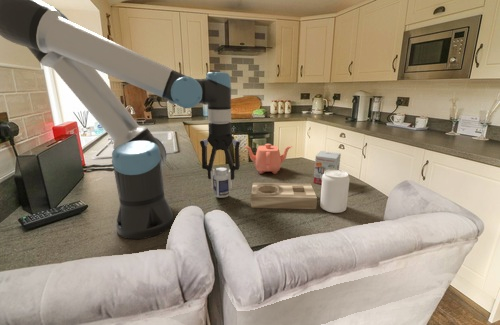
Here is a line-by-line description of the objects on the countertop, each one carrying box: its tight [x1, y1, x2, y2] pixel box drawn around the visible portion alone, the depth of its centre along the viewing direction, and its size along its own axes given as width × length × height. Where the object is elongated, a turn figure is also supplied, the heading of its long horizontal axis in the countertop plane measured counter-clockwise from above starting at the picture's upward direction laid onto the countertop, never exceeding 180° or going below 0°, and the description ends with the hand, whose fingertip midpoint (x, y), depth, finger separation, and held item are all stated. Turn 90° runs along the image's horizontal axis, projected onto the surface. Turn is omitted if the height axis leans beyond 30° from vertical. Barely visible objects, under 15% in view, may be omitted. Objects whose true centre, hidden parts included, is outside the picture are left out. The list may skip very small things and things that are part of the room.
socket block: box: [250, 182, 318, 210], centre depth 87 cm, size 12×21×4 cm, turn 86°
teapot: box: [243, 143, 293, 174], centre depth 117 cm, size 15×17×13 cm
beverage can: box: [319, 169, 351, 214], centre depth 80 cm, size 8×8×12 cm
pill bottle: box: [213, 167, 230, 199], centre depth 90 cm, size 5×5×10 cm
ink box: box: [313, 150, 342, 185], centre depth 103 cm, size 9×9×12 cm
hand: (221, 187), depth 90 cm, fingers closed on pill bottle, 5 cm apart
